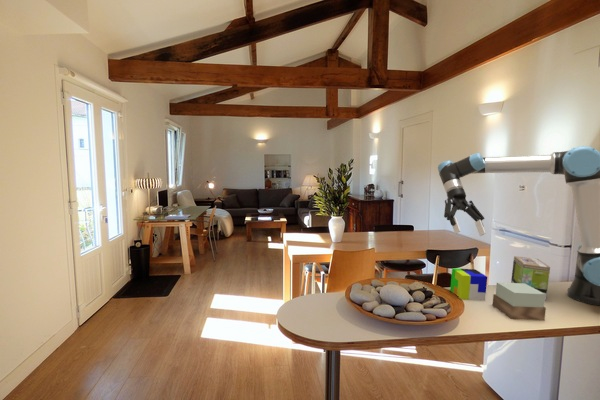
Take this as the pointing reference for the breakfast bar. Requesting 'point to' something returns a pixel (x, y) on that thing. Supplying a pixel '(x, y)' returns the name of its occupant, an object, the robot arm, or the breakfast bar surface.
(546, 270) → the tea box
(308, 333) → the breakfast bar surface
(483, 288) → the puzzle toy
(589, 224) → the robot arm
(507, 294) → the grey-green top slab
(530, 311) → the walnut base slab
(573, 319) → the breakfast bar surface
